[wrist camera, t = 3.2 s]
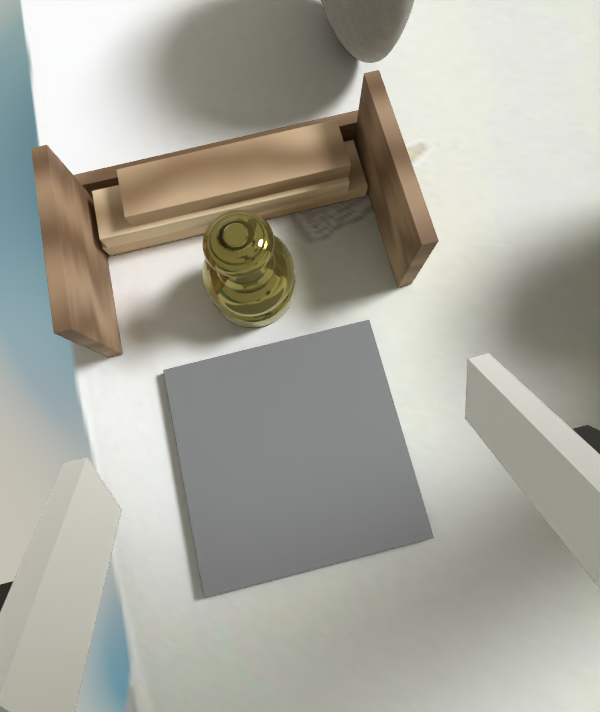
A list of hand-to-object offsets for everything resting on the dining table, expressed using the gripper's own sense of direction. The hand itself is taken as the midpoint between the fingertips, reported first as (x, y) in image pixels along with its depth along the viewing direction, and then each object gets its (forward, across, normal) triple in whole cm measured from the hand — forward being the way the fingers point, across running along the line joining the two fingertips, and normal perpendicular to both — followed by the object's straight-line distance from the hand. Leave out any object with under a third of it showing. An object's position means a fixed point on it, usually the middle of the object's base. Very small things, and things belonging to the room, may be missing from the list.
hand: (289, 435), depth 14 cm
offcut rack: (+28, 0, -1) cm, 28 cm away
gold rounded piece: (+24, 0, -5) cm, 25 cm away
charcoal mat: (+14, -1, -15) cm, 20 cm away
